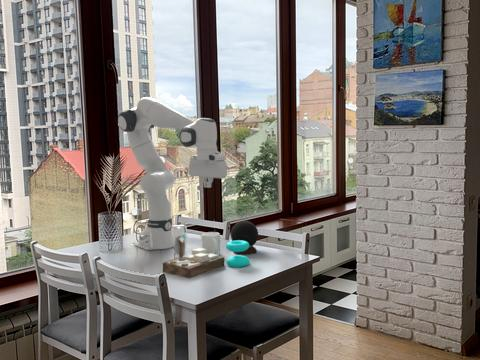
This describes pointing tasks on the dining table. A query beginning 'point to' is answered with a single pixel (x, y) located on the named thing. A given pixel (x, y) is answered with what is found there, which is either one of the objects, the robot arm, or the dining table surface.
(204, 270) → the board
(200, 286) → the dining table surface
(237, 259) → the donuts
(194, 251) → the button
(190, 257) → the button
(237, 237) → the black ball on stand
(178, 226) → the beer glass
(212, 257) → the button
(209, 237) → the mug
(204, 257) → the button
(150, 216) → the robot arm
